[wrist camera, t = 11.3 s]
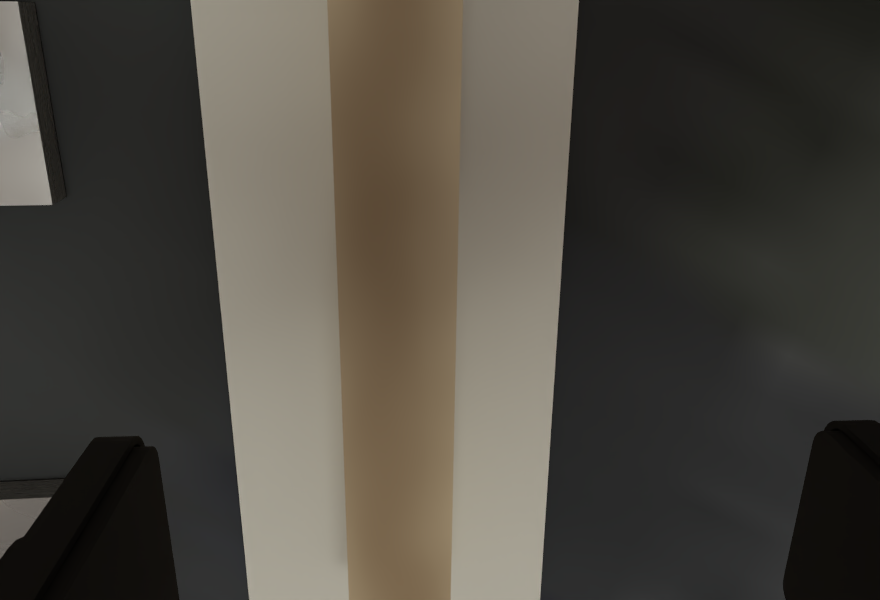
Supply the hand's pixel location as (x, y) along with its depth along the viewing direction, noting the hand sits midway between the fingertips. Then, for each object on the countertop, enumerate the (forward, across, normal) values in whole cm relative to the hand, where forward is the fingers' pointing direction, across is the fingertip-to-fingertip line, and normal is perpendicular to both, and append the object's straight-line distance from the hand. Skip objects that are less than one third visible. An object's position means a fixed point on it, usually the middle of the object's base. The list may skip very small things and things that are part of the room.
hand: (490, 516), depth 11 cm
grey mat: (+12, +1, +1) cm, 13 cm away
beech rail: (+12, +1, +1) cm, 12 cm away
